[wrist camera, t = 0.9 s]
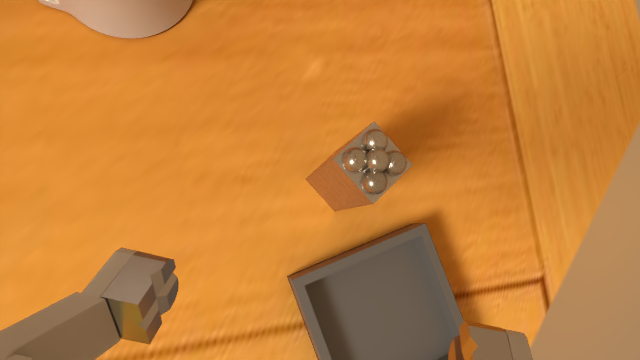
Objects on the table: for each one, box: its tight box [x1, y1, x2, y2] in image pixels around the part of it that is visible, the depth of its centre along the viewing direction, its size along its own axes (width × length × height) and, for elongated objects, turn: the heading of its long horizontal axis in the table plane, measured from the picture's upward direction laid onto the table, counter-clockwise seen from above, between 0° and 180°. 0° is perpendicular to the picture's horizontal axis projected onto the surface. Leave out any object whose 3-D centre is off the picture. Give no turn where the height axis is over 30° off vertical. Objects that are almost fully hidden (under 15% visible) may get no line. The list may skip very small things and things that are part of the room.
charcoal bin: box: [287, 223, 464, 360], centre depth 43 cm, size 16×16×4 cm
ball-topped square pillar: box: [306, 121, 412, 211], centre depth 39 cm, size 5×5×15 cm
